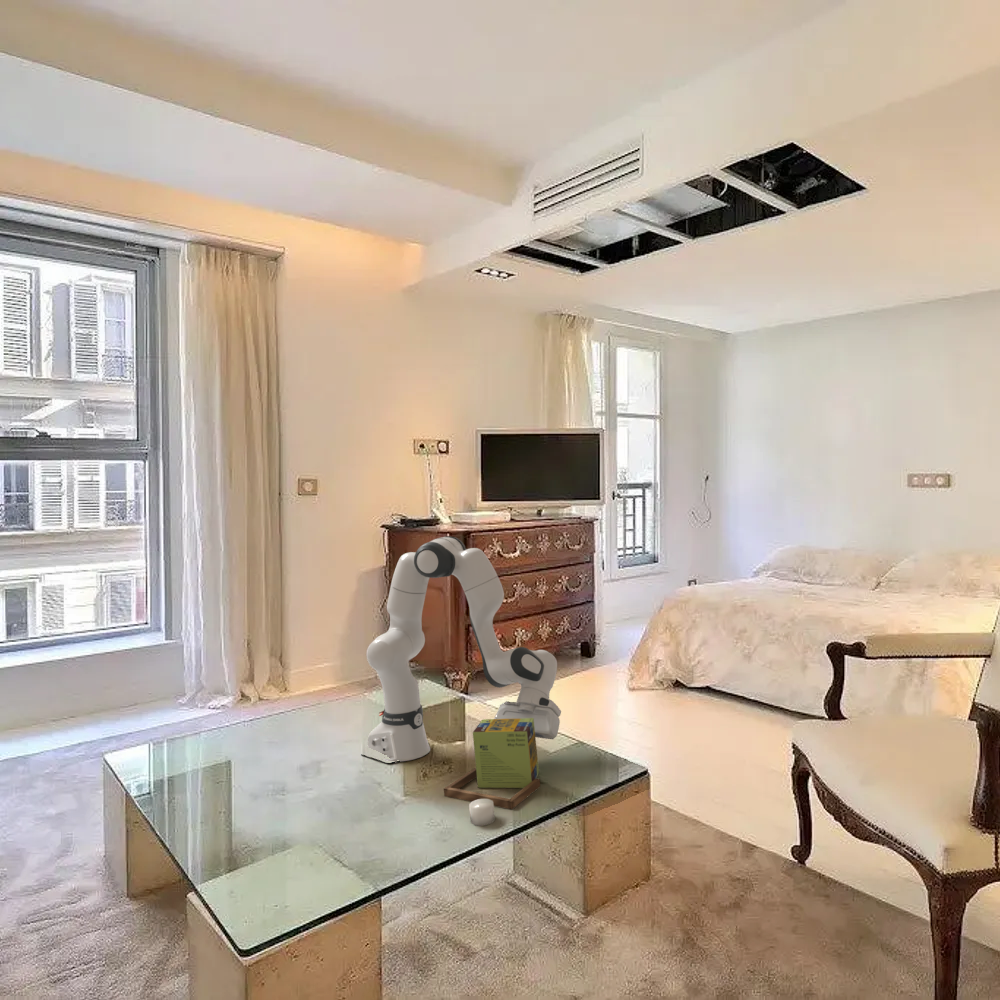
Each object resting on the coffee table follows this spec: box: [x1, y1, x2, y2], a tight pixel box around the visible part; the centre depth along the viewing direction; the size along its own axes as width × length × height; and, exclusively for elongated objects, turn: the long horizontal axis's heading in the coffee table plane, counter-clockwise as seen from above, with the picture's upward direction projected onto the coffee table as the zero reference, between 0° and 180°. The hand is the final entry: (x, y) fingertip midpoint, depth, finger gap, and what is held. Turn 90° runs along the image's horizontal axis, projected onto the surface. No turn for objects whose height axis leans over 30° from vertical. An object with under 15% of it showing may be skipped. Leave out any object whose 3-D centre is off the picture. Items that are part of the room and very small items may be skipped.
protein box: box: [472, 718, 540, 789], centre depth 202 cm, size 10×15×16 cm
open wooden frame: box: [443, 767, 541, 810], centre depth 196 cm, size 21×14×2 cm, turn 57°
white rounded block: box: [468, 799, 496, 827], centre depth 180 cm, size 6×6×4 cm
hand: (517, 749), depth 207 cm, fingers closed
